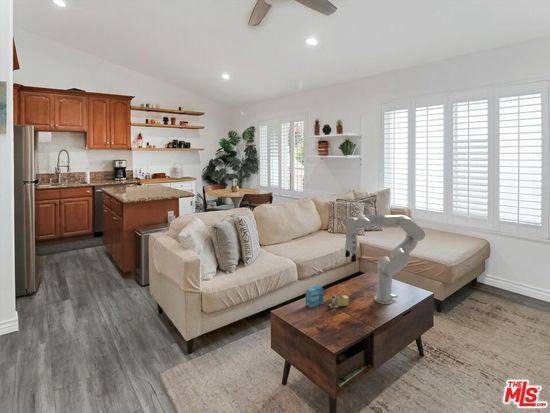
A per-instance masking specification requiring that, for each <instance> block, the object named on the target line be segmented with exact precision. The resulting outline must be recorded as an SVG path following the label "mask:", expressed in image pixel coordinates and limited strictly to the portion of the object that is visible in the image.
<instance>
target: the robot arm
mask: <svg viewBox="0 0 550 413" xmlns="http://www.w3.org/2000/svg"><path fill="white" fill-rule="evenodd" d="M345 221H346V223H345V244H344V246H345V247H344V250H345V258H349V257H350V258H351V259H350V261H351V263H352V262H353V263H354V262H357V254H358V229H361V230H366V229H369V228H370V226H375V227H379V228H382V229H383V228H384V229H393V228H395V229H396V228H400V229H402V230H403V231H404V232H405V233H406V234H405V235H406V236H405V239H403V241H402V242H401V243H399V244H398V245H397V246H395V248H393V249H392V250H391V252H390V256H391V258H390V257H388V256H381V257H380V258H379V259H378V260H377V282H376V283H377V285H376V295H375V296H374V297H373V299H374V301H375V302H376V303H379V304H382V305H391V304H393V302H394V299H396V298H398V294H394V293H392V287H393V286H392V284H393V283H392V282H393V276H394V275H396V274H397V273H399V272H400V271H401V270H402V269H403V268H404V267H406V266H407V265H408V264H410V263H409V262H410V261H411V255H410V254H411V252H413V251H414V250H415V248H417V245H418V242H421V241H423V240H424V239H425V237H426V233H425V230H424V229H423V228H422V227H421V226H419V225H418V224H417V223H416V222H415V221H414V220H413V219H411V218H410V217H408V216H406V215H404V214H390V215H388V214H387V215H381V214H361V215H358V216H356V217H355V216H348V217H346V220H345Z"/></svg>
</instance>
